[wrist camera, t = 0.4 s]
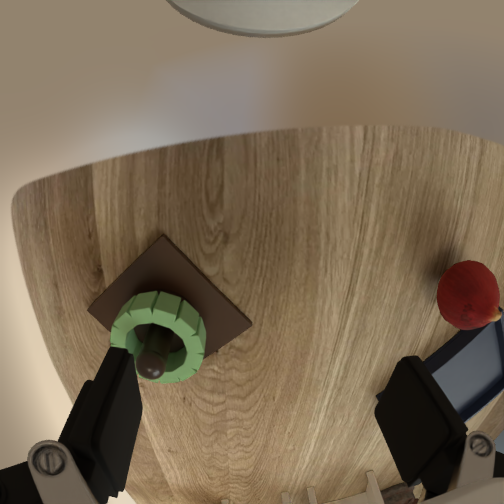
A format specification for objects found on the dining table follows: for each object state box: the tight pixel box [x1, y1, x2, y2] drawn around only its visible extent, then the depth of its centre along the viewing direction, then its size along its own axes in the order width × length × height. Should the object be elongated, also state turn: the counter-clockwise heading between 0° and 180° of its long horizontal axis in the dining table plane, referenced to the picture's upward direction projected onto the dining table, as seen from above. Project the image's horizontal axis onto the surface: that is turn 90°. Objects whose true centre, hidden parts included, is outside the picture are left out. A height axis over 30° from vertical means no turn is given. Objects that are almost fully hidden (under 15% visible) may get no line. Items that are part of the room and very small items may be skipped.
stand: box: [87, 234, 252, 380], centre depth 21 cm, size 10×10×7 cm
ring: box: [110, 291, 206, 383], centre depth 21 cm, size 7×7×2 cm
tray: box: [376, 307, 504, 423], centre depth 30 cm, size 17×19×2 cm
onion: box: [437, 260, 502, 330], centre depth 21 cm, size 6×6×8 cm
